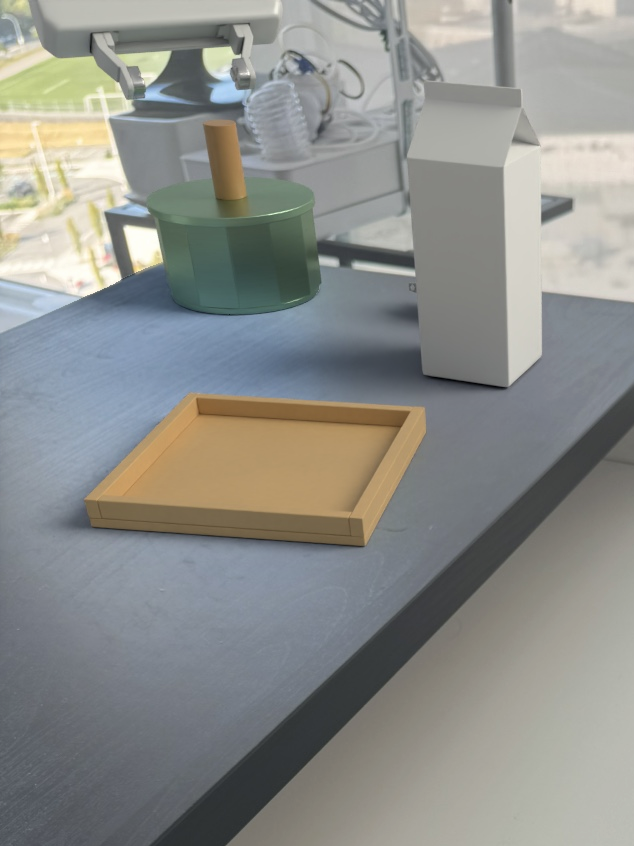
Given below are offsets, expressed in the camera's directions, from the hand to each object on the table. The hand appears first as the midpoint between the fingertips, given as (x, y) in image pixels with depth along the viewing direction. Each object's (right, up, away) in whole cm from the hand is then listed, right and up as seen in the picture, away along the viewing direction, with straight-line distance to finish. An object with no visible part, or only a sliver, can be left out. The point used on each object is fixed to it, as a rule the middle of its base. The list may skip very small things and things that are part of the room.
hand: (193, 89), depth 97 cm
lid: (+3, -9, +2) cm, 9 cm away
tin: (+3, -14, +6) cm, 16 cm away
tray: (+13, -38, -22) cm, 46 cm away
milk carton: (+25, -26, -7) cm, 37 cm away
